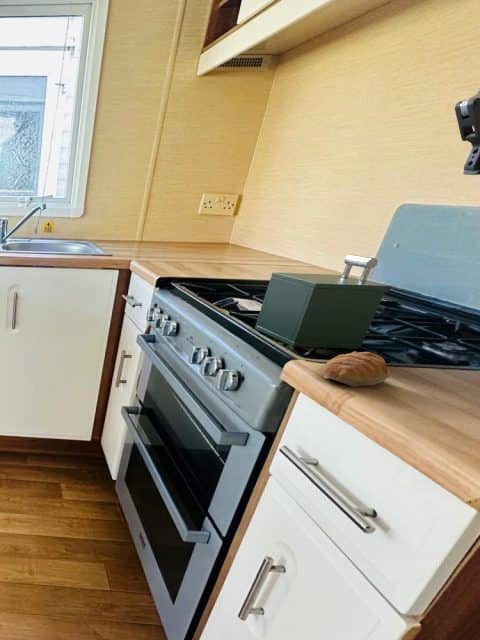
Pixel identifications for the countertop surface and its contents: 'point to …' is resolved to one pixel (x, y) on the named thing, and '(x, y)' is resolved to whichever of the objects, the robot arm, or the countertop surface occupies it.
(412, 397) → the countertop surface
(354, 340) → the box
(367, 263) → the lid
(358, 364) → the pastry
